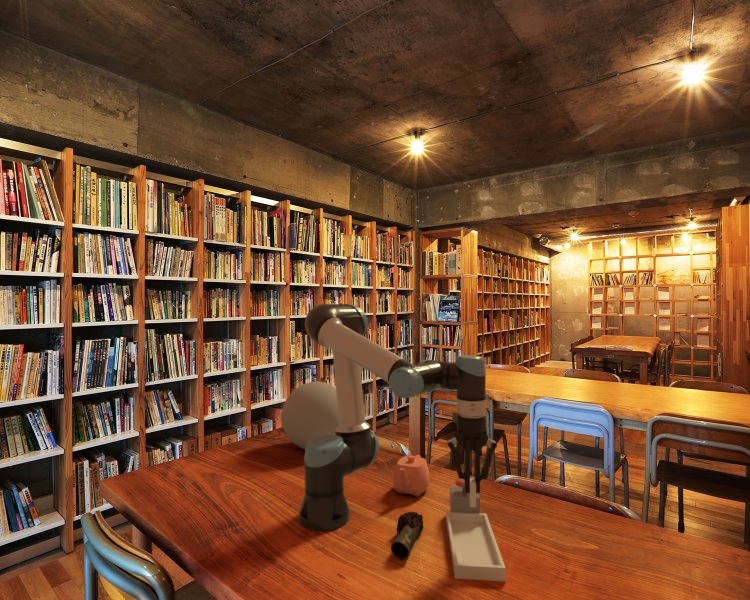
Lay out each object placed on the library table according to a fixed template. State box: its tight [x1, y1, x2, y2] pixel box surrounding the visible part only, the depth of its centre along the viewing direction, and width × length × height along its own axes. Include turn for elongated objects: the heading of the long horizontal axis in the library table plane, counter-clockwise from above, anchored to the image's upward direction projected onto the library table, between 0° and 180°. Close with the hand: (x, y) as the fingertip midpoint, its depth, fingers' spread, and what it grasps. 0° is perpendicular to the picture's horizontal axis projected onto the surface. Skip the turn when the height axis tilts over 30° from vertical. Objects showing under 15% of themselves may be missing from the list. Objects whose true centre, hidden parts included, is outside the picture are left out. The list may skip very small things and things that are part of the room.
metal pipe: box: [390, 511, 424, 561], centre depth 113 cm, size 18×7×6 cm, turn 159°
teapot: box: [392, 454, 430, 497], centre depth 145 cm, size 20×12×12 cm, turn 158°
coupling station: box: [445, 477, 507, 582], centre depth 114 cm, size 12×33×11 cm, turn 175°
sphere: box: [281, 381, 339, 450], centre depth 189 cm, size 30×30×30 cm
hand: (472, 504), depth 110 cm, fingers closed
